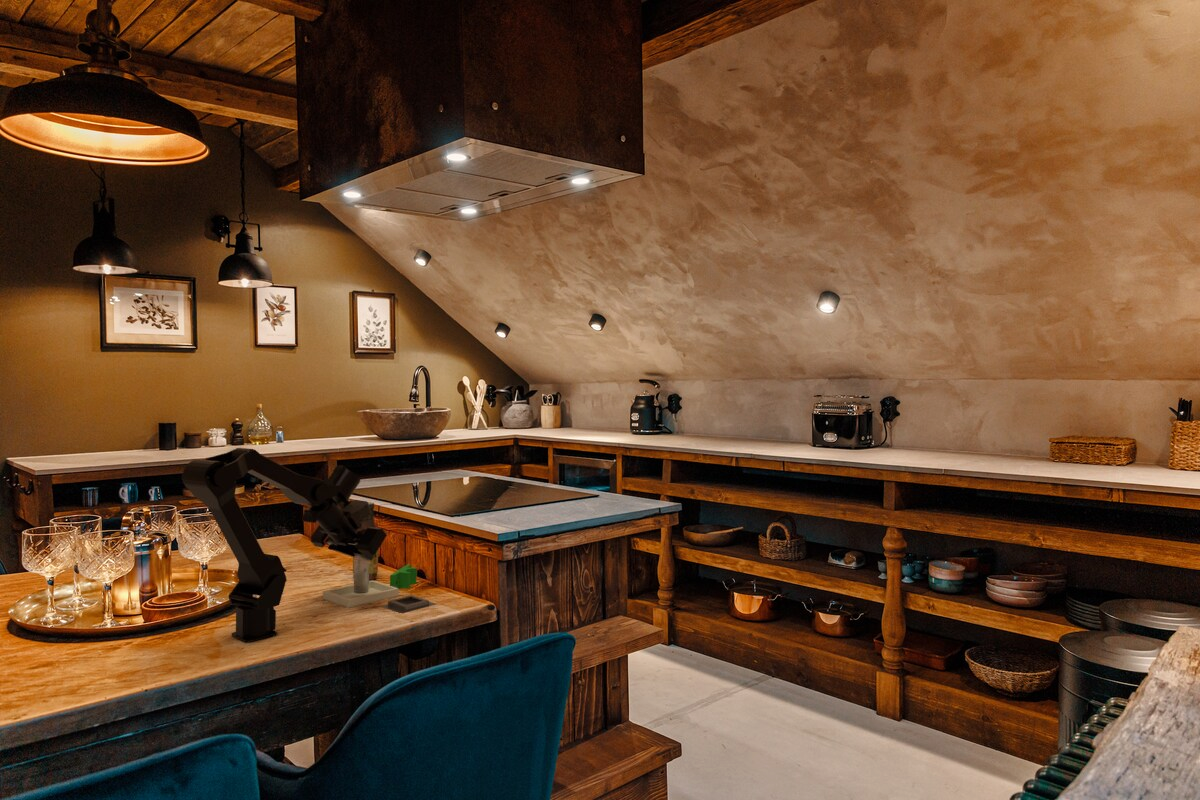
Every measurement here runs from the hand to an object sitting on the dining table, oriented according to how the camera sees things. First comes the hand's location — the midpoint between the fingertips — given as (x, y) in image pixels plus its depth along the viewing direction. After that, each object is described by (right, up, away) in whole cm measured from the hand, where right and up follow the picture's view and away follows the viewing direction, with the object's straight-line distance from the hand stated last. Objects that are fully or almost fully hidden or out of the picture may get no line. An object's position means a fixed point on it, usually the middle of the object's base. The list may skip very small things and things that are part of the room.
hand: (365, 557), depth 178 cm
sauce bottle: (-6, -9, +17) cm, 20 cm away
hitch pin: (-1, -8, -1) cm, 8 cm away
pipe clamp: (+7, -10, +10) cm, 16 cm away
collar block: (+12, -10, -6) cm, 17 cm away
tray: (-1, -10, -1) cm, 10 cm away
